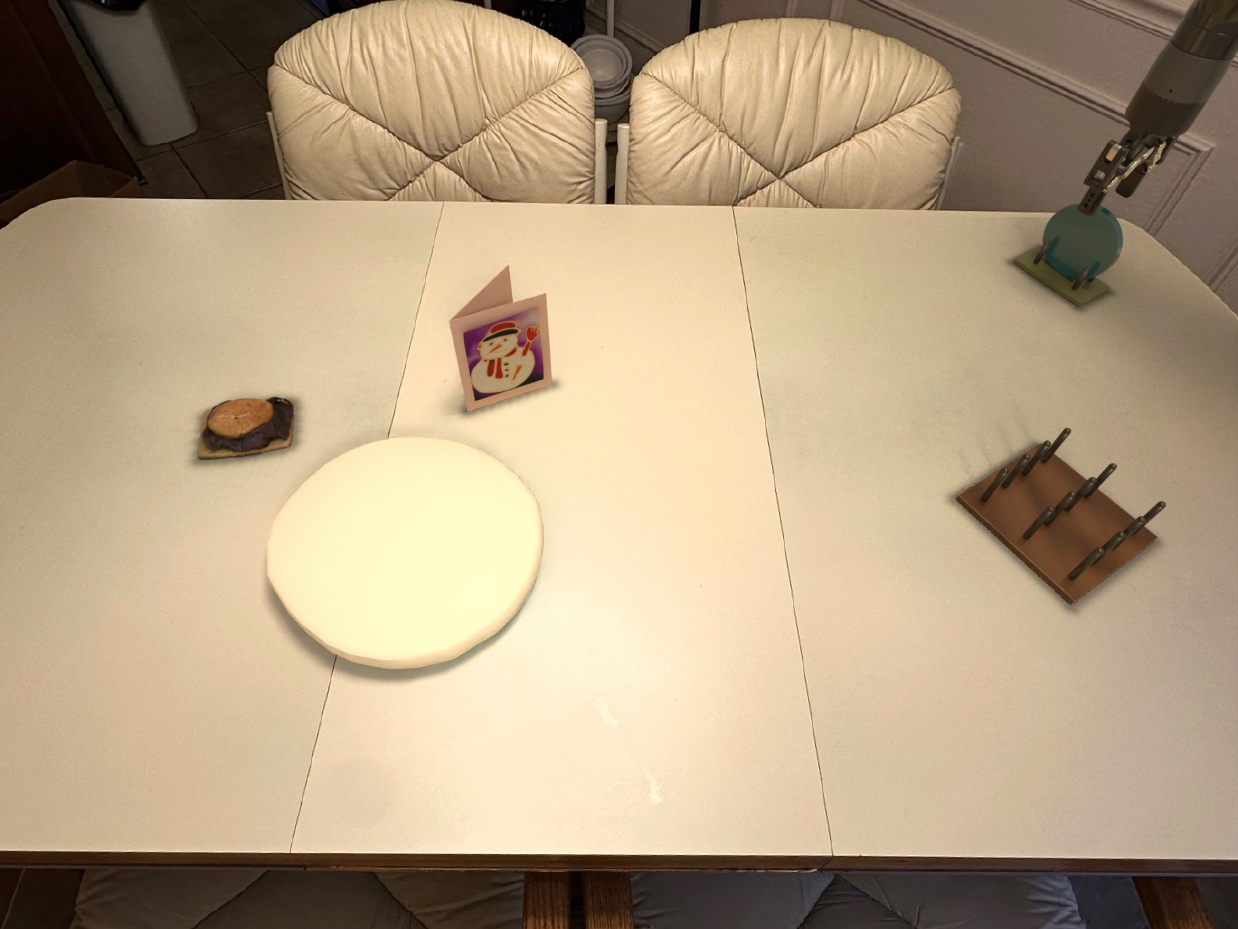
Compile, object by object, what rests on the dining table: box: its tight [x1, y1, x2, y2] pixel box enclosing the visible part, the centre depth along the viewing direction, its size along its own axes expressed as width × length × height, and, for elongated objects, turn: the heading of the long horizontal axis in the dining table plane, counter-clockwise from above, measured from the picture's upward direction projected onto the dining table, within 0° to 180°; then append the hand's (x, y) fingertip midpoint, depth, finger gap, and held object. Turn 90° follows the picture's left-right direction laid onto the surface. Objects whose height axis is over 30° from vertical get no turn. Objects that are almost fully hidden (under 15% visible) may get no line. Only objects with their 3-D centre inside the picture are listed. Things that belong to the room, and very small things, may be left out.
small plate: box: [1042, 201, 1124, 280], centre depth 108 cm, size 1×11×11 cm, turn 33°
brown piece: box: [197, 396, 295, 459], centre depth 89 cm, size 11×8×4 cm
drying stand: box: [1012, 241, 1111, 308], centre depth 111 cm, size 7×12×5 cm, turn 33°
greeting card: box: [448, 264, 553, 412], centre depth 90 cm, size 11×7×15 cm, turn 116°
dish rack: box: [955, 427, 1167, 605], centre depth 83 cm, size 15×16×7 cm
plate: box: [265, 436, 545, 670], centre depth 78 cm, size 28×6×27 cm
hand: (1103, 203), depth 103 cm, fingers open, 8 cm apart
